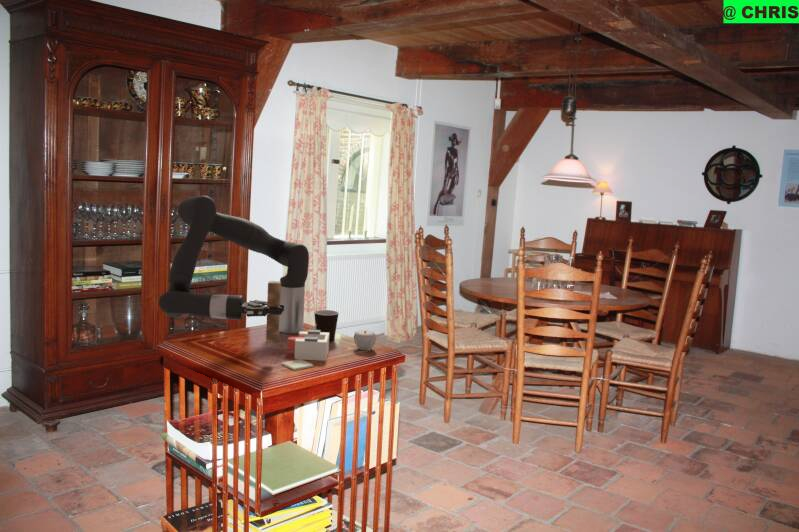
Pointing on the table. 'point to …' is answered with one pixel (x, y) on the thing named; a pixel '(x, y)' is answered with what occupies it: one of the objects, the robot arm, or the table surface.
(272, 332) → the walnut stick
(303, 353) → the box
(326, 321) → the coffee mug
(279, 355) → the table surface
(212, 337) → the table surface
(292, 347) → the plunger
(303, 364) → the coaster
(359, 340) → the lidded sugar bowl
